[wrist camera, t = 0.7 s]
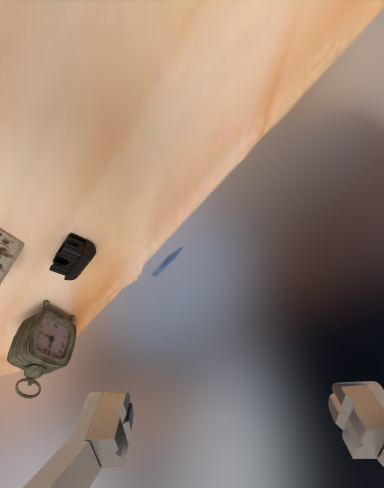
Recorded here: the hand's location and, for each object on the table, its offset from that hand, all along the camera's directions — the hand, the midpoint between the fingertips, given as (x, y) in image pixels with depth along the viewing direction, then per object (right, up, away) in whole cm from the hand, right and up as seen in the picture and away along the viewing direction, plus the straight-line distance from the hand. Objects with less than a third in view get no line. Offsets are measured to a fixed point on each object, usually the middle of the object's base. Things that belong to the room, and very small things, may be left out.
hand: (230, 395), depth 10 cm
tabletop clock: (-47, -16, +69) cm, 85 cm away
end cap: (-32, +5, +53) cm, 62 cm away
